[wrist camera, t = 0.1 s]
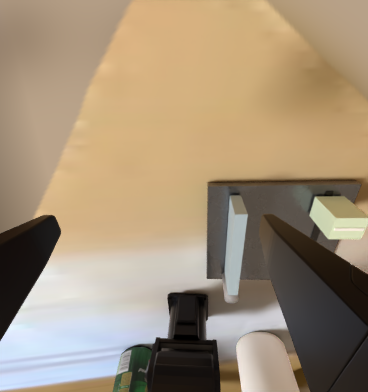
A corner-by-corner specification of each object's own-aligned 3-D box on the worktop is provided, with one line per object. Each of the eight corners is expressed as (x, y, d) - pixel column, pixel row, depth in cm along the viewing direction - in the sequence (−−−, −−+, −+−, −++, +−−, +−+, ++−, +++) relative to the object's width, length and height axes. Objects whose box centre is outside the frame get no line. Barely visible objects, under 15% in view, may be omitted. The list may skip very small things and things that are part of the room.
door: (234, 279, 30) (238, 304, 27) (221, 279, 30) (224, 304, 27) (243, 194, 23) (250, 214, 20) (226, 195, 23) (231, 214, 20)
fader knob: (337, 215, 24) (361, 239, 20) (309, 215, 24) (328, 239, 20) (344, 196, 23) (371, 218, 19) (315, 196, 23) (336, 218, 19)
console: (318, 274, 30) (322, 281, 29) (206, 273, 32) (206, 279, 31) (355, 180, 23) (362, 184, 22) (207, 182, 24) (208, 186, 23)
